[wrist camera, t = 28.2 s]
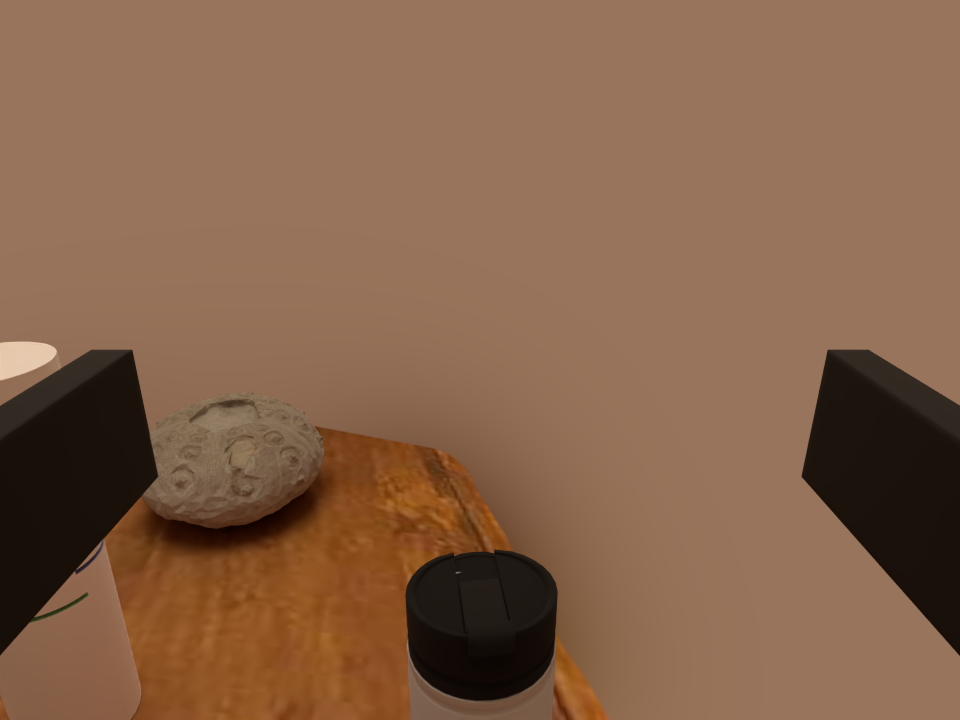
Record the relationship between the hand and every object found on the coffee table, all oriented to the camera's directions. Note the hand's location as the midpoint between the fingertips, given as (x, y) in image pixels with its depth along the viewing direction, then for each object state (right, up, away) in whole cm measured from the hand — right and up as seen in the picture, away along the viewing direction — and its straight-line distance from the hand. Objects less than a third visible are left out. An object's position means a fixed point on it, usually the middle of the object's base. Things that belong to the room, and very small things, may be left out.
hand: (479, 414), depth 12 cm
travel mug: (0, -27, +21) cm, 34 cm away
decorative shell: (-25, -14, +54) cm, 61 cm away
